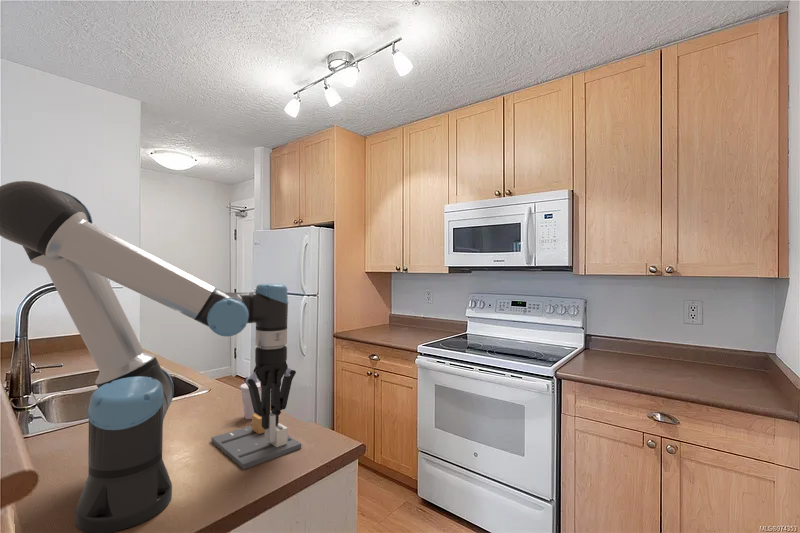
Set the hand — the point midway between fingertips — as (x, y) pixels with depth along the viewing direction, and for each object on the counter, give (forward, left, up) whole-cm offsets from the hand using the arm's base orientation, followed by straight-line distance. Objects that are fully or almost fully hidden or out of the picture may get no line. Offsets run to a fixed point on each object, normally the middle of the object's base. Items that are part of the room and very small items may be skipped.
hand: (269, 439), depth 99 cm
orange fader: (+2, +10, -1) cm, 10 cm away
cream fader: (+2, 0, -1) cm, 3 cm away
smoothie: (+7, +24, -3) cm, 25 cm away
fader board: (-1, +6, -3) cm, 6 cm away
